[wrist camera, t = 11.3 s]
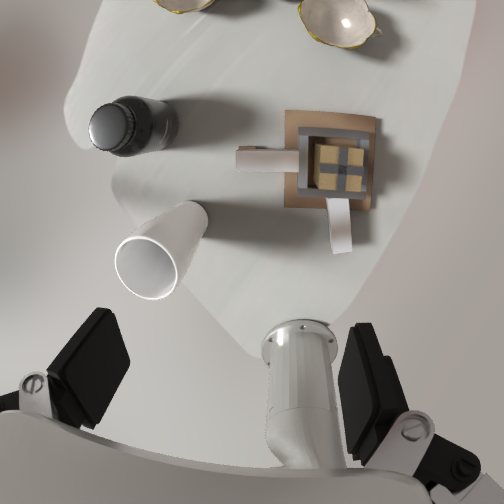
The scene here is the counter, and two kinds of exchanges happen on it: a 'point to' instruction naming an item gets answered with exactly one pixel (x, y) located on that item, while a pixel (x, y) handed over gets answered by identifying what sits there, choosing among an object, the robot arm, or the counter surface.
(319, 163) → the block
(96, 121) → the supplement bottle
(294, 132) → the shaft rig
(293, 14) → the counter surface
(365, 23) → the chinaware
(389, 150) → the counter surface
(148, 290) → the drinking glass
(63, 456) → the robot arm
